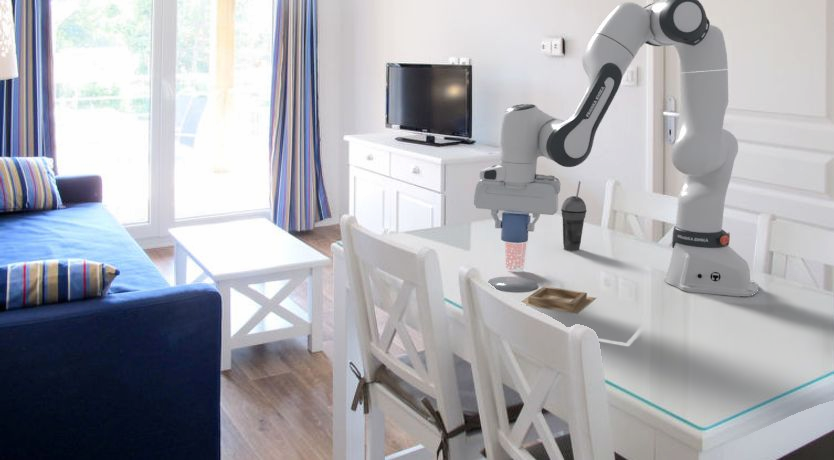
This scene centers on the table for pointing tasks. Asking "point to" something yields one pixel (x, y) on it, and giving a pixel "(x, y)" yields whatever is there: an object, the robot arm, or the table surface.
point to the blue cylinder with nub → (515, 226)
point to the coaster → (513, 284)
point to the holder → (559, 299)
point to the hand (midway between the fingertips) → (514, 229)
